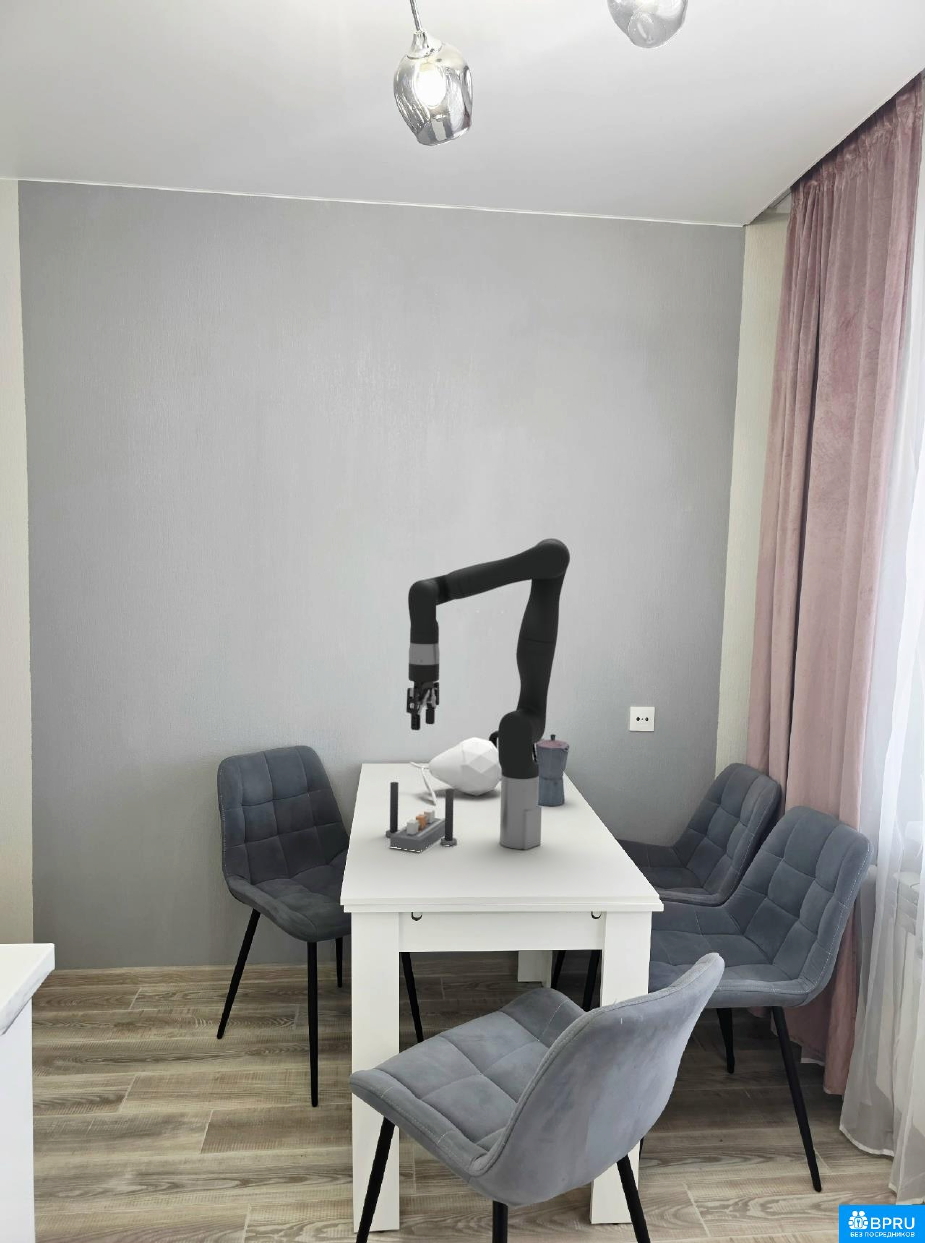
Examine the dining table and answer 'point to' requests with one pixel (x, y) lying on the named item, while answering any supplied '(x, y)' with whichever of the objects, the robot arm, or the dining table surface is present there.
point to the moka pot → (551, 770)
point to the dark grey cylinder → (449, 819)
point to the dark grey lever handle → (393, 809)
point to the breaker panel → (419, 836)
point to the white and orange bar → (420, 821)
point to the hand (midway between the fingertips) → (422, 726)
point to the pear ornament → (466, 767)
